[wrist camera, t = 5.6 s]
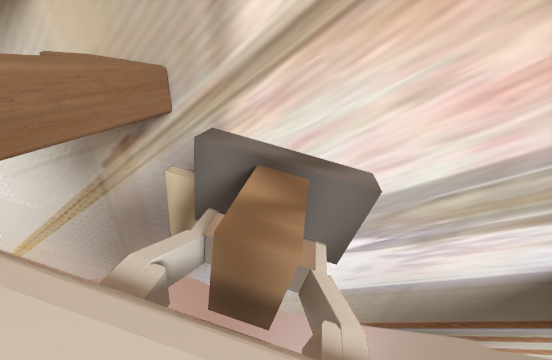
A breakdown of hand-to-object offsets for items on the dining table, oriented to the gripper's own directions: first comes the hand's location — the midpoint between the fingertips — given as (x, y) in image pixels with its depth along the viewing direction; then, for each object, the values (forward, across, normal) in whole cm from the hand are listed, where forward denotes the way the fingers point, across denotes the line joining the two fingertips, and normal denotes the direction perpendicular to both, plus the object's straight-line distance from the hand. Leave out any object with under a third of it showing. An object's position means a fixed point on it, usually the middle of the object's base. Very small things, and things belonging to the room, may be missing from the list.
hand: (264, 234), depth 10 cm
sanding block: (+4, 0, 0) cm, 4 cm away
